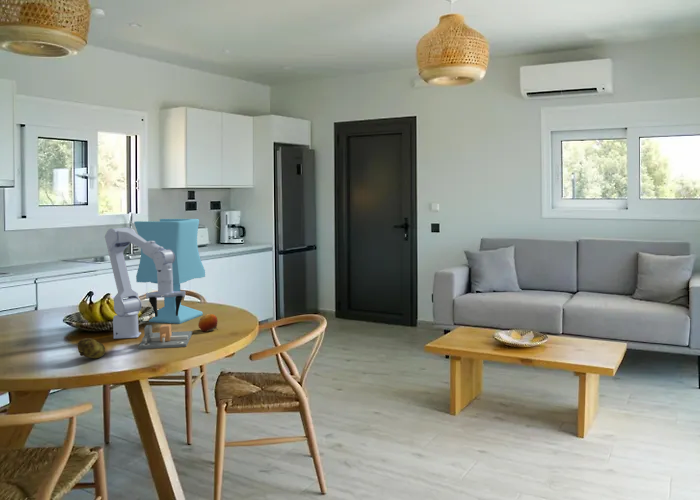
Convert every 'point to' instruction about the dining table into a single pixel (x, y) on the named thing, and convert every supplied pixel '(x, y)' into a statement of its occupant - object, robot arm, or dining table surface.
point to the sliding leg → (165, 332)
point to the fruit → (208, 322)
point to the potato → (91, 348)
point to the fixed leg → (148, 333)
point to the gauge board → (175, 341)
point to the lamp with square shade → (185, 267)
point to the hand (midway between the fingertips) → (166, 315)
